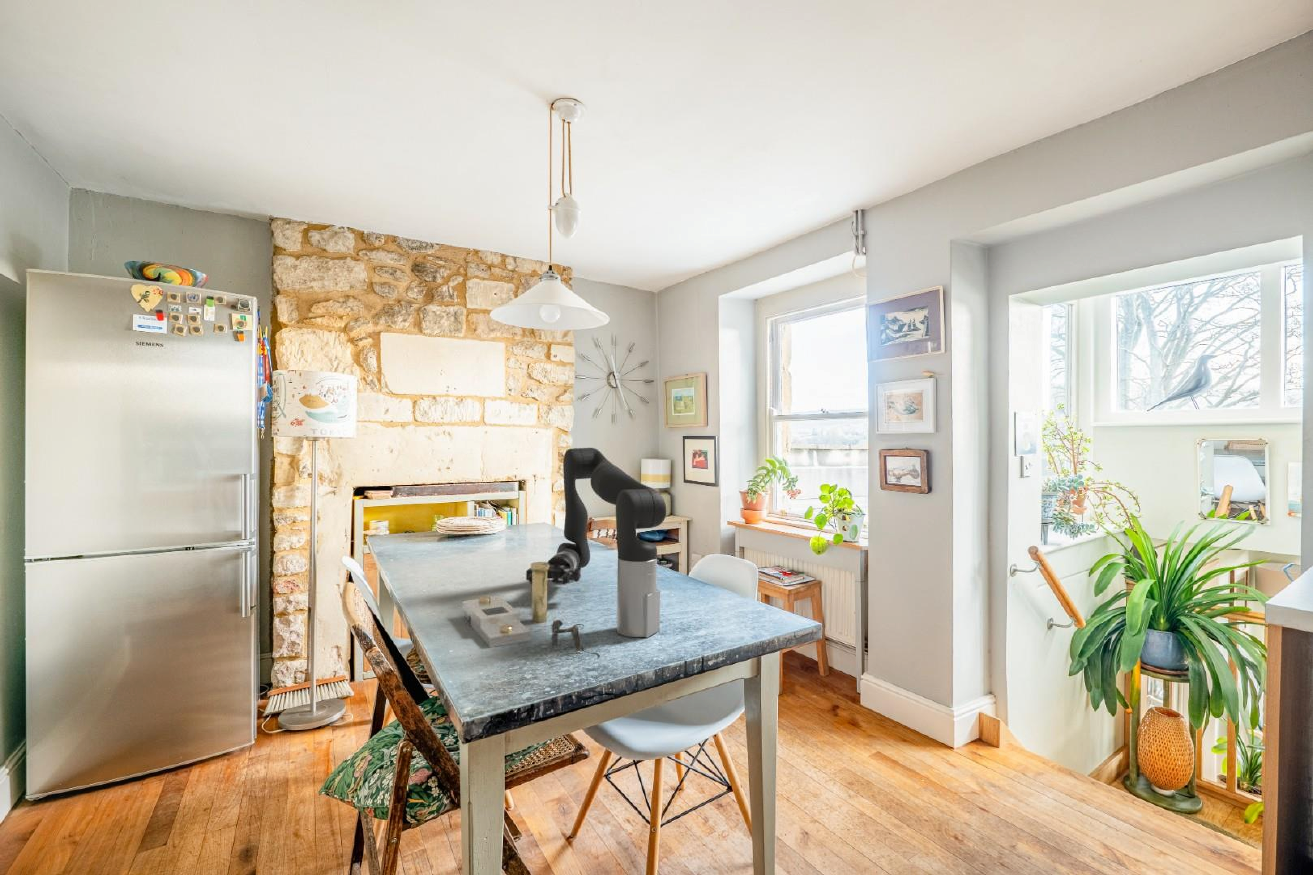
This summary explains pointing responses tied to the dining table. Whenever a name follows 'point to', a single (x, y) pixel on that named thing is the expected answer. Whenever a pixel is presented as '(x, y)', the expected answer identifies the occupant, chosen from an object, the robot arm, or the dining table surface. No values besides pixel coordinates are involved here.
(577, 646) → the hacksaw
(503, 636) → the gray block
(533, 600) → the pin
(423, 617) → the dining table surface
